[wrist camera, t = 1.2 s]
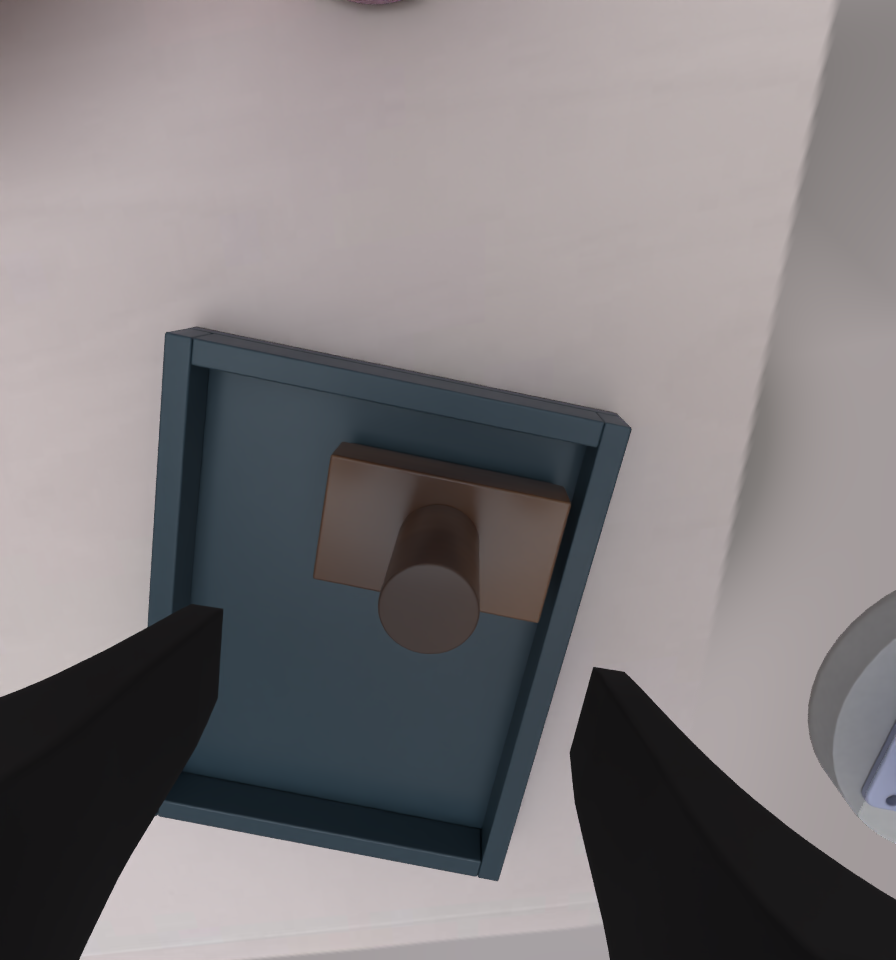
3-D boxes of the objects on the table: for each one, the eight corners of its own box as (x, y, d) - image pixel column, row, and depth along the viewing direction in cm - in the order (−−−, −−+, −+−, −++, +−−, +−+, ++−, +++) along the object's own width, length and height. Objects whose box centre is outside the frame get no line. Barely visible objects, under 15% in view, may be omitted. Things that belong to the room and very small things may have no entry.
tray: (617, 413, 20) (632, 428, 18) (496, 835, 26) (498, 882, 24) (194, 326, 20) (164, 331, 18) (162, 771, 26) (135, 812, 24)
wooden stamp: (561, 478, 21) (597, 563, 14) (532, 587, 22) (554, 709, 16) (346, 434, 20) (291, 501, 14) (329, 547, 22) (270, 654, 16)
